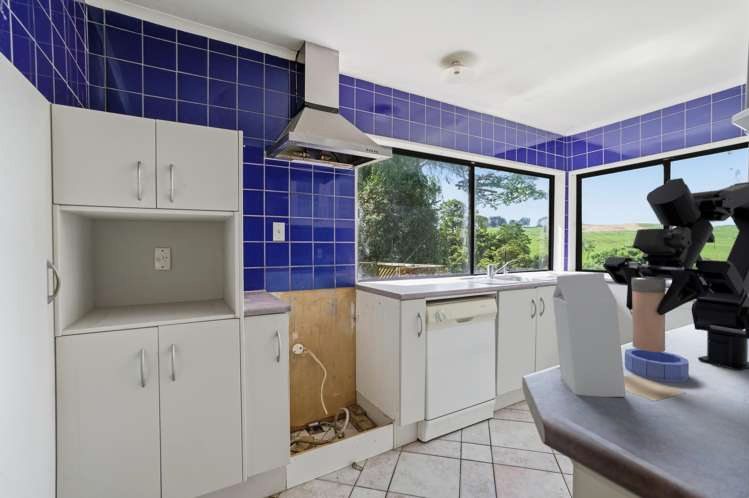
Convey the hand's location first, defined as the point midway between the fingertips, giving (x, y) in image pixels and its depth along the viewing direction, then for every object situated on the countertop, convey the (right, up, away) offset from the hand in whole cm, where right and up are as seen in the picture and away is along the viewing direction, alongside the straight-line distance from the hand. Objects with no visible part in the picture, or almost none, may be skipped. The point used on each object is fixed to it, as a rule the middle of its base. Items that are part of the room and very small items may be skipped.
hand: (643, 310), depth 58 cm
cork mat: (-1, -13, -2) cm, 13 cm away
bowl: (+6, -13, +5) cm, 15 cm away
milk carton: (-10, -13, -2) cm, 16 cm away
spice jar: (+1, -7, +1) cm, 7 cm away
